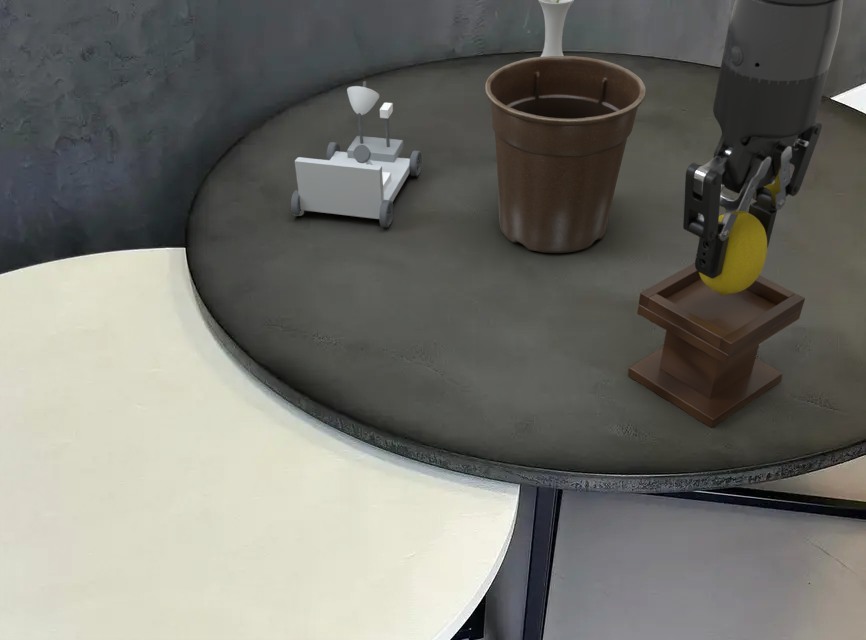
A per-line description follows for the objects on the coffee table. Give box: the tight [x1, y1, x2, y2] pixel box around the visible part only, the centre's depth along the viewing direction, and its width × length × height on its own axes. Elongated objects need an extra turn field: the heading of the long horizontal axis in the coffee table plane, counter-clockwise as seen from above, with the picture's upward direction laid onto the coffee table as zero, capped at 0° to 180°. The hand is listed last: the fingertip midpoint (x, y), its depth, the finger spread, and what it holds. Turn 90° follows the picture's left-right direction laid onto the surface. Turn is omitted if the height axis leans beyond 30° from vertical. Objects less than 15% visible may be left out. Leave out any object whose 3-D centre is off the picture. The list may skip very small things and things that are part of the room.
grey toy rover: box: [290, 80, 423, 228], centre depth 117 cm, size 18×10×12 cm
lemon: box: [699, 211, 768, 296], centre depth 83 cm, size 6×6×8 cm
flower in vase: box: [537, 0, 575, 57], centre depth 126 cm, size 13×11×25 cm
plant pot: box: [484, 55, 646, 254], centre depth 107 cm, size 16×16×16 cm
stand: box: [627, 262, 806, 428], centre depth 89 cm, size 10×10×9 cm
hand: (731, 259), depth 83 cm, fingers closed on lemon, 5 cm apart
